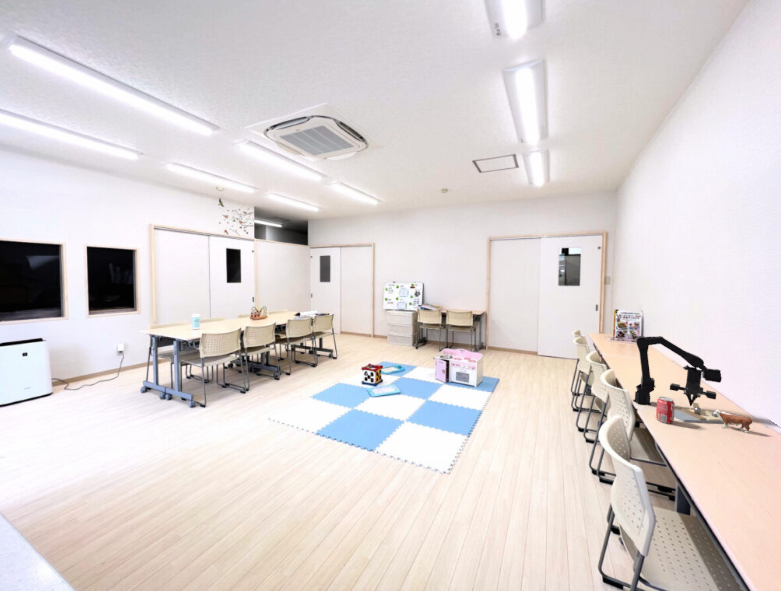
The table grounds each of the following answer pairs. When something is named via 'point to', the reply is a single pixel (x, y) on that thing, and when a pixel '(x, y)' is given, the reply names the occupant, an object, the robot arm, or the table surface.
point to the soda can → (665, 410)
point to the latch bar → (696, 408)
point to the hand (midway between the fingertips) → (690, 406)
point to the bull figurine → (733, 420)
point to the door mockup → (697, 416)
